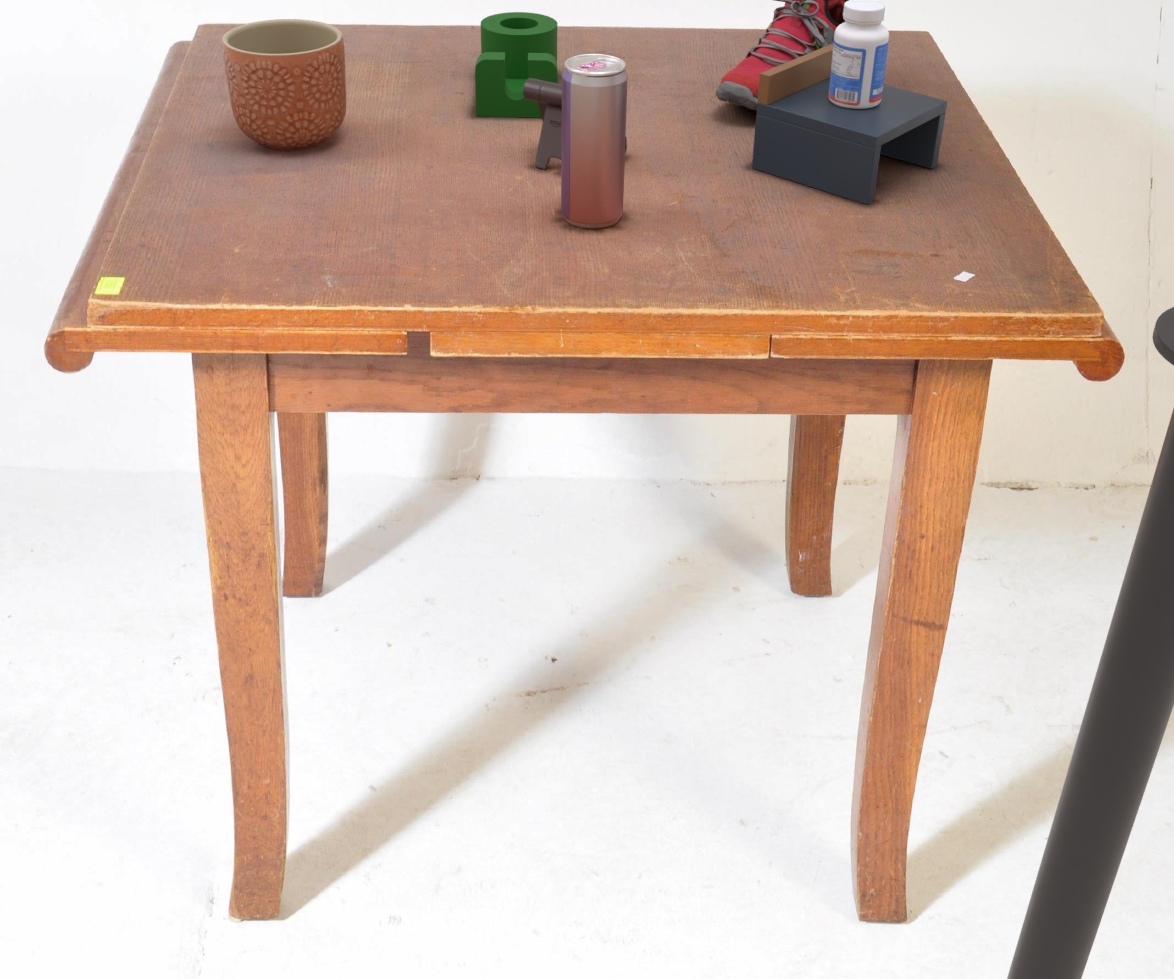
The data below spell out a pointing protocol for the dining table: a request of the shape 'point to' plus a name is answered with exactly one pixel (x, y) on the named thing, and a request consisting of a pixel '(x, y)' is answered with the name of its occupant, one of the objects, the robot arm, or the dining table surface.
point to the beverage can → (593, 140)
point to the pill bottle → (859, 56)
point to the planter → (286, 81)
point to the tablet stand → (548, 118)
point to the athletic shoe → (782, 45)
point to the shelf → (838, 129)
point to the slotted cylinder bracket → (514, 62)
